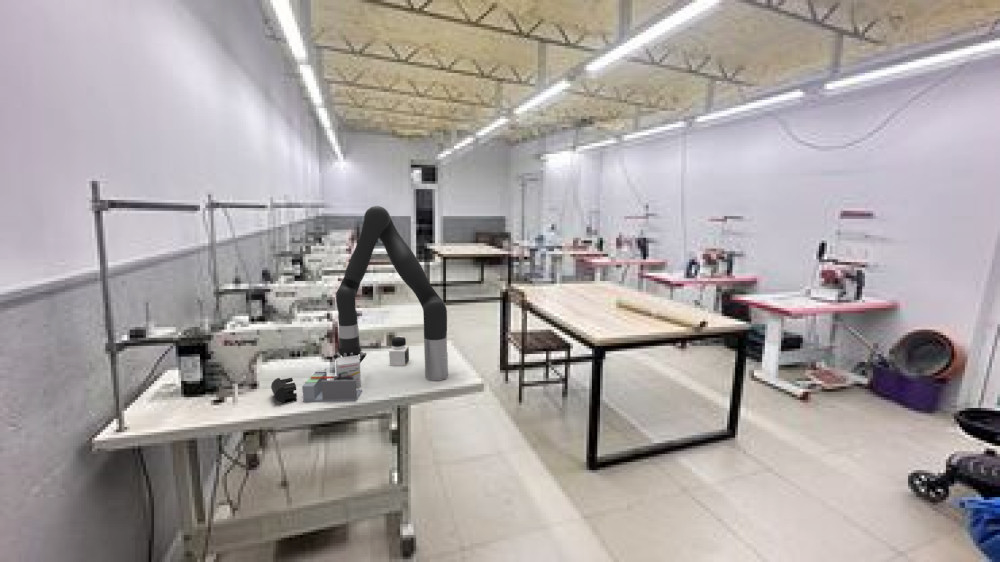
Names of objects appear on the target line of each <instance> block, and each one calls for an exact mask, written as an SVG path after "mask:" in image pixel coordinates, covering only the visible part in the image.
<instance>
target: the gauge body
mask: <svg viewBox="0 0 1000 562" xmlns="http://www.w3.org/2000/svg"><path fill="white" fill-rule="evenodd" d="M327 374H328V373H327V371H315V372H314V373H313V374H312V375H311V376H310V377H309V378H308V379H307V380H306V381H305V382H304V384H302V386H301V387H302V388H301V389H302V399H303V403H321V402H322V403H324V402H325V403H326V402H327V403H328V402H329V403H330V402H332V403H333V402H357V401H358V400H359V398H360V396H361V395H362V393H363V389H357V388H358V387H356V380H334V379H311V377H320V376H328V375H327ZM358 397H359V398H358ZM356 400H357V401H356Z"/></svg>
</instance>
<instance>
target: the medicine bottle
mask: <svg viewBox="0 0 1000 562" xmlns="http://www.w3.org/2000/svg"><path fill="white" fill-rule="evenodd" d="M406 341H407V340H406V337H405V336H400V335H399V336H394V337H393V338H391V348H390V349H389V350H388V352H389V353H388V355H389V366H390V367H392V366H393V367H406V366H407V364H408V363H409V361H410V352H409V351H410V349H409V348H410V347H409V345H407V342H406Z"/></svg>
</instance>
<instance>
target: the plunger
mask: <svg viewBox="0 0 1000 562" xmlns="http://www.w3.org/2000/svg"><path fill="white" fill-rule="evenodd" d="M310 377H311V376H310ZM311 379H327V380H330V379H333V380H354V378H353V377H337V375H334V376H333V375H332V376H329V375H327V376H320V377H311Z"/></svg>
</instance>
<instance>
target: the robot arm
mask: <svg viewBox="0 0 1000 562" xmlns="http://www.w3.org/2000/svg"><path fill="white" fill-rule="evenodd" d="M378 239H379V240H380V241H381V243H382V244H383V247H384V249H385V251H386V254H387V256H388V258H389V259H390V262H391V264H392V266H393V268H394V270H395V271H396V272H397V274H398V276H400V279H402V281H403V282H404V283H405V284H406V285H407V286H408V287H409V289H410V290H411V291H412V292H413V293H414V295H415V296H416V297H417V300H418V302H419V304H420V306H421V308H422V311H423V342H424V343H423V345H424V346H423V347H424V348H423V349H424V350H423V351H424V376H425V379H426V380H428V381H432V382H433V381H443V380H447V379H448V375H449V365H448V364H449V359H448V358H449V357H448V356H449V355H448V340H447V339H448V338H447V337H448V310H447V306H446V304H445V302H444V300H443V299H442V297H441V296H440V295H439V294H438V292H436V290H435V289H434V288H433V286H432V284H431V283H430V281H429V279H428V277H427V274H426V272H425V271H424V269H423V267H422V265H421V264H420V261H419V260H418V258H417V257H416V255H415V253H414V252H413V250H412V249H411V248H410V246H409V245H408V244H407V243H406V242H405V240H404V239H403V238H402V236H401V234H400V233H399V232H398V230H397V228H396V226H395V224H394V221H393V220H392V217H391V215H390V212H389V211H388V210H387V209H386V208H384V207H383V206H379V205H376V206H375V205H374V206H371V207H369V208H368V209H366V211H365V213H364V217H363V223H362V228H361V232H360V235H359V238H358V240H357V243H356V246H355V248H354V249H353V253H352V254H351V257H350V259H349V260H348V264H347V266H346V269H345V272H344V276H343V278H342V280H341V283H340V284H339V287H338V288H337V291H336V294H335V302H336V309H337V313H338V314H337V319H338V329H337V330H338V332H337V334H338V347H339V349H338V352H336V353H334V354H333V359H334V360H335V361H336V359H337V358H341V357H348V356H356V355H357V356H359V359H360V364H361V363H362V362H363V360H364V359H365V358H366V357H367V353H366V352H363V351H362V349H361V347H360V331H359V323H358V322H359V320H358V311H357V309H356V297H357V295H358V291H359V289H360V286H361V283H362V281H363V279H364V277H365V276H366V272H367V270H368V267H369V265H370V263H371V262H370V261H371V259H372V255H373V252H374V249H375V247H376V245H377V242H378Z"/></svg>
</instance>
